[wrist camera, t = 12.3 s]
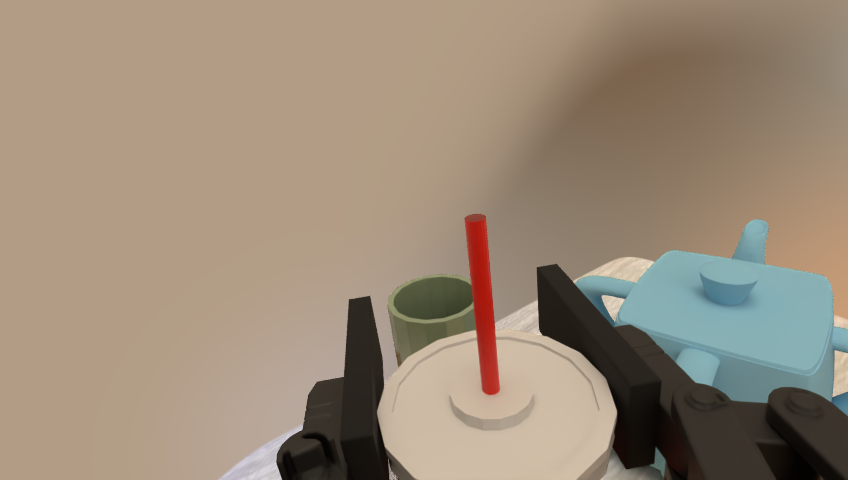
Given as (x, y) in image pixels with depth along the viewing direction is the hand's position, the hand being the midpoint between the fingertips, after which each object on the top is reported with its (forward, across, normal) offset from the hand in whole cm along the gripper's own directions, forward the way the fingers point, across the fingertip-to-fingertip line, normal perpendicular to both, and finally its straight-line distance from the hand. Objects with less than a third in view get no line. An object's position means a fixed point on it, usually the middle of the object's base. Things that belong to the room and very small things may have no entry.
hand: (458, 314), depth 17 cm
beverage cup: (-5, 0, -9) cm, 10 cm away
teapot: (+11, +20, -20) cm, 30 cm away
